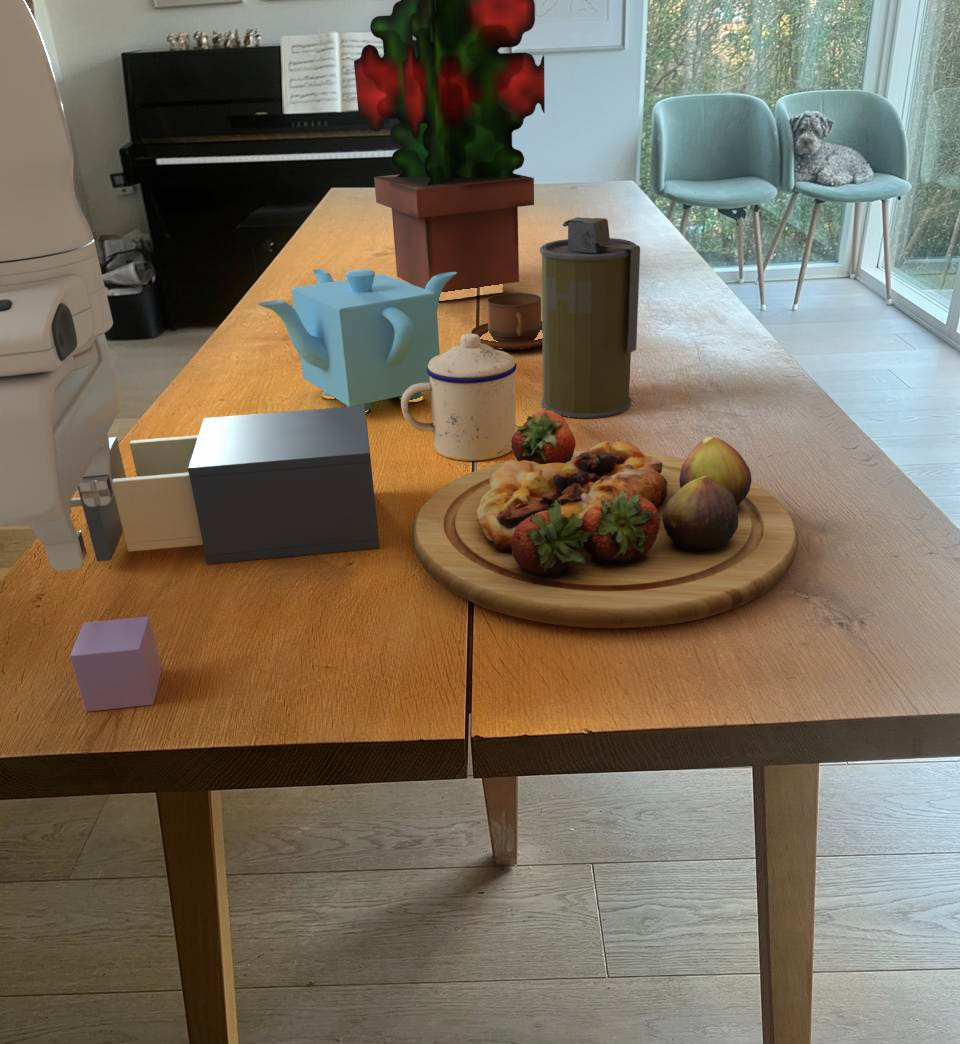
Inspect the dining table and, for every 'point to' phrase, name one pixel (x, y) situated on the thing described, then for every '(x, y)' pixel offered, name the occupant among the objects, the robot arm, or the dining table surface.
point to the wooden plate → (605, 532)
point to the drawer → (147, 499)
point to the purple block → (116, 663)
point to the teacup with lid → (469, 401)
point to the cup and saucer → (512, 321)
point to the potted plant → (453, 134)
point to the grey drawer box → (284, 484)
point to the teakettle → (364, 334)
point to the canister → (588, 320)
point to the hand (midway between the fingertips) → (86, 531)
